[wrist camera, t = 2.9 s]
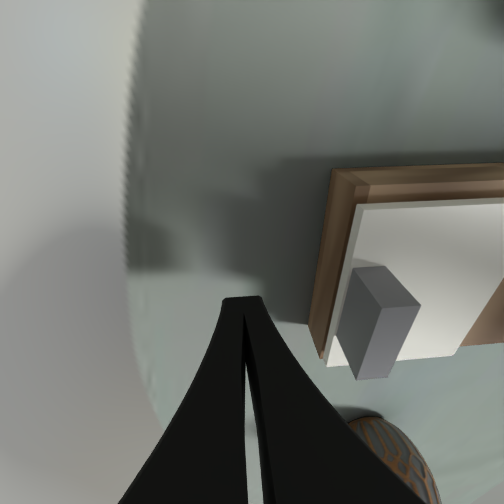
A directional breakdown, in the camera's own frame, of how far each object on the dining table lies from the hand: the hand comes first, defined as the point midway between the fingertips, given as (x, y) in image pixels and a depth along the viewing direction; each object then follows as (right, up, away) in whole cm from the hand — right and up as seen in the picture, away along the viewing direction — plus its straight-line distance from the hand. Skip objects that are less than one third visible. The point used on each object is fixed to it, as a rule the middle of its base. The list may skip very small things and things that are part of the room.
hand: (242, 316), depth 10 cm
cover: (+7, +1, +1) cm, 7 cm away
